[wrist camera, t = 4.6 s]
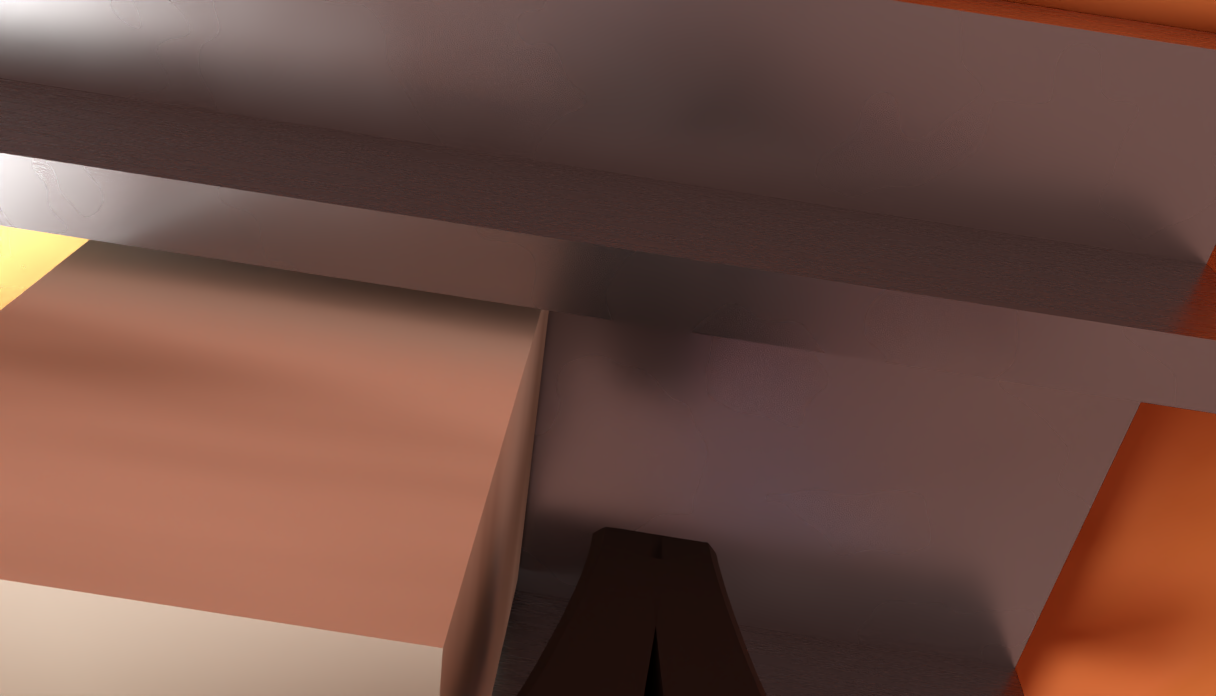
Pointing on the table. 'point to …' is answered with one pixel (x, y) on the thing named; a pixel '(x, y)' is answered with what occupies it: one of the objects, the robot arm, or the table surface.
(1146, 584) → the table surface
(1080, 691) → the table surface
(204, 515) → the block
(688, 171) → the chute
